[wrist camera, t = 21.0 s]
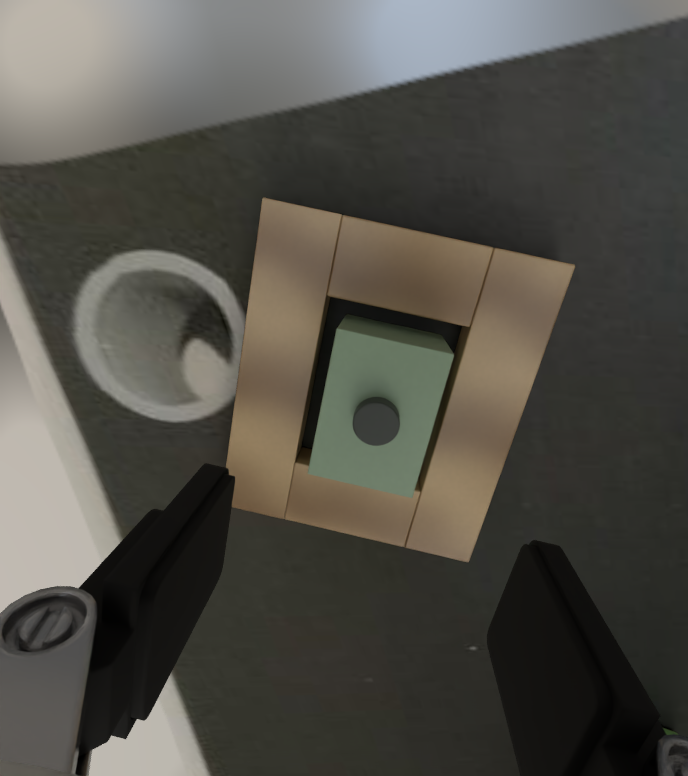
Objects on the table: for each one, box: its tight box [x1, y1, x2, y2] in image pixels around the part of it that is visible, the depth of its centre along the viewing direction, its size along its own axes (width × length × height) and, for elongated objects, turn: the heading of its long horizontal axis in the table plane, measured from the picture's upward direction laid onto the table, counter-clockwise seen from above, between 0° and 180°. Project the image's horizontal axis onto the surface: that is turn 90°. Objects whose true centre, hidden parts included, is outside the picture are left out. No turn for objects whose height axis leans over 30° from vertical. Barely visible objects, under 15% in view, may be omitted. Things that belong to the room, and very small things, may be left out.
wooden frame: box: [226, 198, 575, 562], centre depth 22 cm, size 16×14×2 cm
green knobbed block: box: [308, 314, 454, 498], centre depth 21 cm, size 7×5×5 cm
